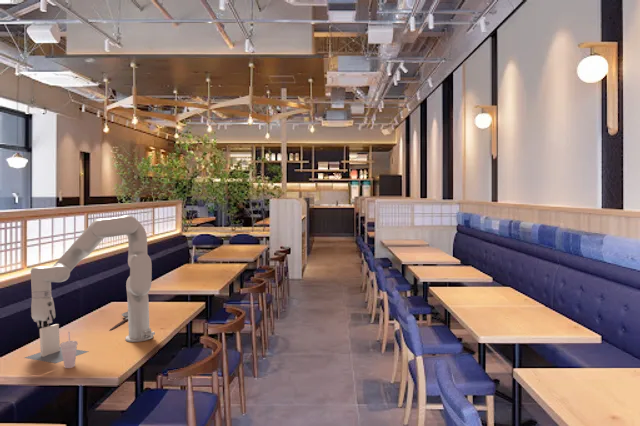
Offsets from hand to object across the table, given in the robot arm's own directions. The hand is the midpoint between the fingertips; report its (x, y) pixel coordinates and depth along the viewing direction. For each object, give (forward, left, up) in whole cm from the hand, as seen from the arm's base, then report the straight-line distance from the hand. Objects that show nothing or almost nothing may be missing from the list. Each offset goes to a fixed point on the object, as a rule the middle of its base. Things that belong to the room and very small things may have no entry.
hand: (43, 335), depth 214 cm
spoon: (+8, -52, -9) cm, 54 cm away
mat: (-8, 0, -8) cm, 11 cm away
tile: (-4, 0, -8) cm, 9 cm away
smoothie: (-26, +8, -8) cm, 28 cm away
